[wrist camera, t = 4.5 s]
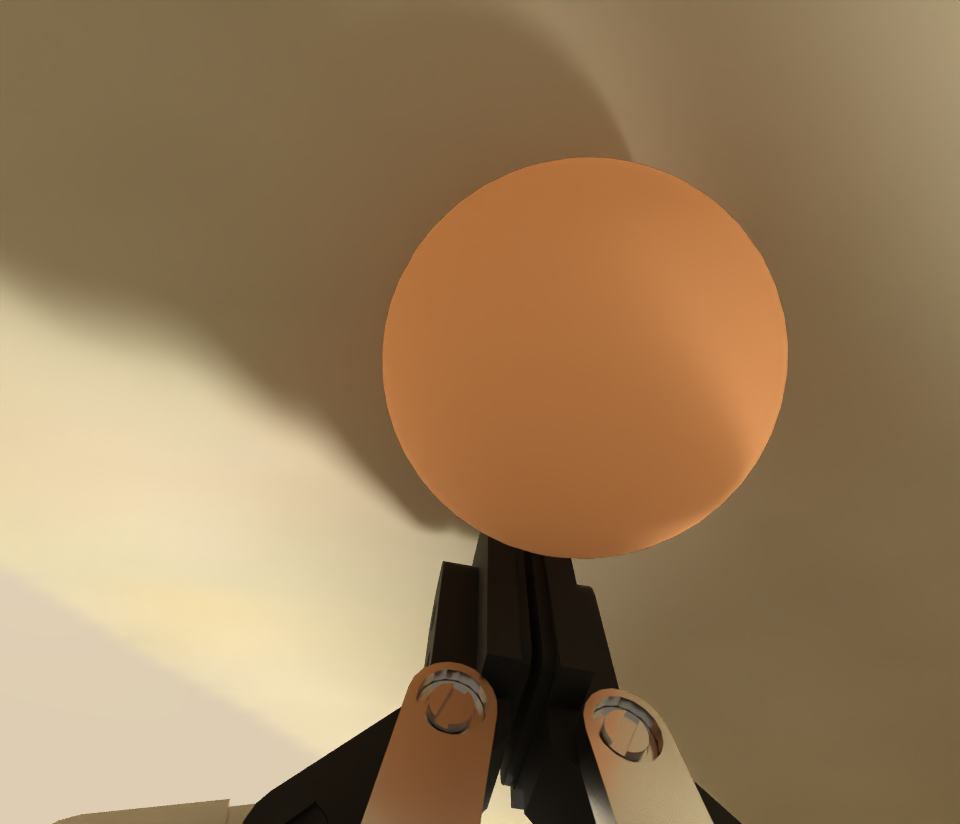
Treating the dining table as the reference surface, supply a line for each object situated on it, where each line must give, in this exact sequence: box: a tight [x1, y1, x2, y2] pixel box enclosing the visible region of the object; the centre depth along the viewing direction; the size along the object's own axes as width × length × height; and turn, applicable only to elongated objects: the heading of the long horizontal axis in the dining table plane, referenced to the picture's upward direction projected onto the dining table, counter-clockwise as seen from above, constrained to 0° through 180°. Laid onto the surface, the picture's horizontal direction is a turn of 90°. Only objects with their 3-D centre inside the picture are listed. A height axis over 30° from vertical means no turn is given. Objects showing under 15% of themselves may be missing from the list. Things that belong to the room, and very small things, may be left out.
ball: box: [382, 157, 788, 559], centre depth 9 cm, size 6×6×6 cm
